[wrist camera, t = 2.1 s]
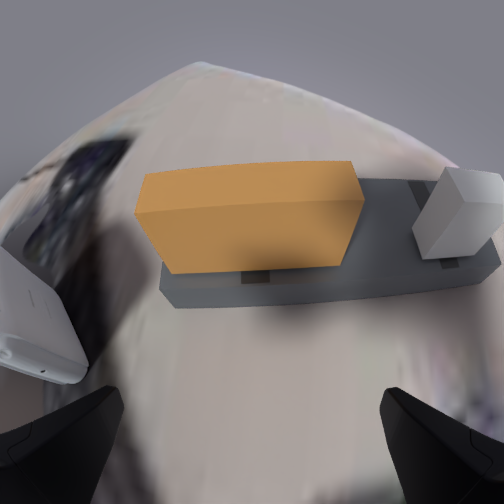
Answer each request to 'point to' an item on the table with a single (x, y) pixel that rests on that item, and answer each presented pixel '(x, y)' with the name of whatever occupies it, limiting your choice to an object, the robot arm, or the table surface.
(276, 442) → the table surface
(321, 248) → the orange slider
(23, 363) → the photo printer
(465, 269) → the switch box
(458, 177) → the white slider
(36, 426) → the robot arm
